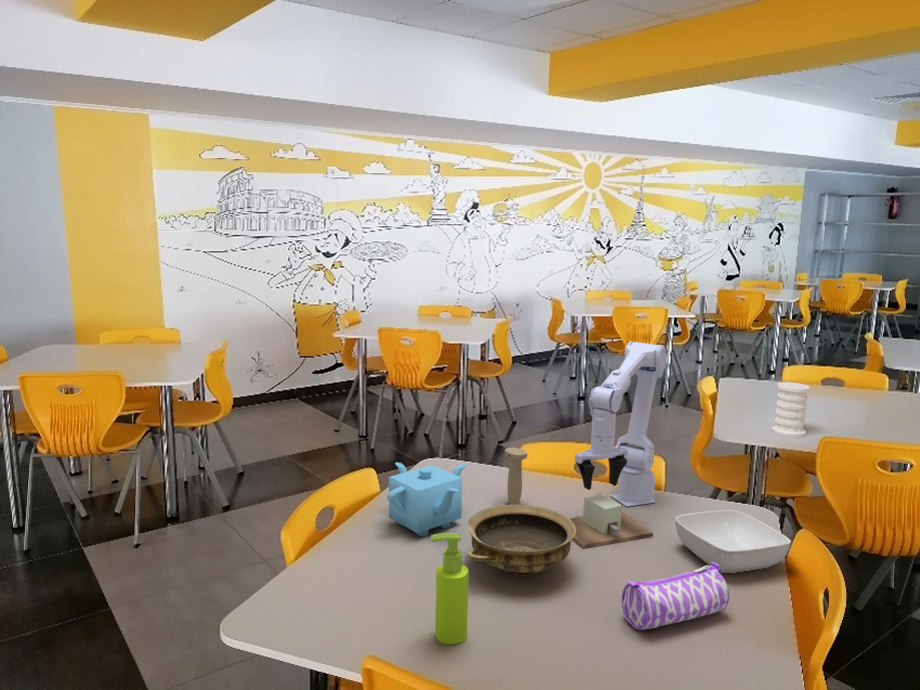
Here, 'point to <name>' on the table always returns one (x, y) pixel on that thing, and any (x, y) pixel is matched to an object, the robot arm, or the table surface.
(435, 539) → the soap dispenser
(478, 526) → the ceramic bowl
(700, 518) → the square bowl
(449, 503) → the teakettle
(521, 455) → the handle
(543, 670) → the table surface
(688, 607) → the pencil case
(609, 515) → the cabinet block
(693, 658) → the table surface
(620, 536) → the cleat board
